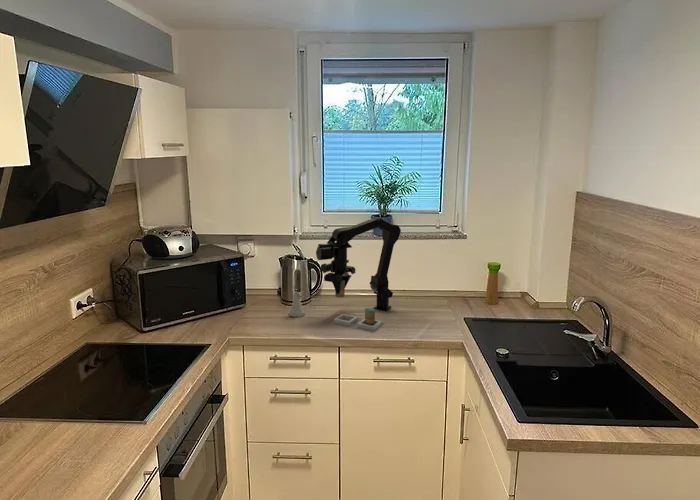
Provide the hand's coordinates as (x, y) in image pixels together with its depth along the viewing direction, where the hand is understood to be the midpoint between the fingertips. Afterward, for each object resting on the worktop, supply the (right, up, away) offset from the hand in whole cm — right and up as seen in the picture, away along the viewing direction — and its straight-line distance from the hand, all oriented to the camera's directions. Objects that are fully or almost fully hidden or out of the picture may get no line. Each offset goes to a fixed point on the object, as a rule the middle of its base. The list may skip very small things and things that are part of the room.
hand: (340, 292), depth 223 cm
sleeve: (0, -2, 0) cm, 2 cm away
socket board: (+8, -13, -11) cm, 19 cm away
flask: (-19, -10, +2) cm, 22 cm away
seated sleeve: (+13, -12, -14) cm, 22 cm away
